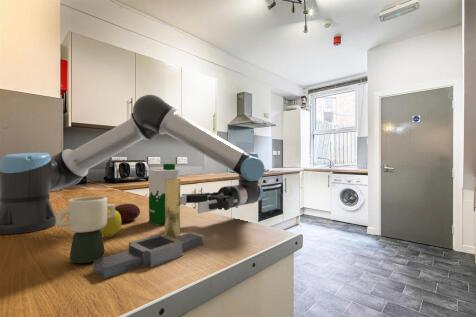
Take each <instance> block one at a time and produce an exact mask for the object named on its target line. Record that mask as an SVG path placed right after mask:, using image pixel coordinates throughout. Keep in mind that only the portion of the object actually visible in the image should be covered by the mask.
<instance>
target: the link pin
mask: <svg viewBox="0 0 476 317" xmlns="http://www.w3.org/2000/svg"><path fill="white" fill-rule="evenodd" d="M180 196H181V178H178V179H165V224H164V235H167V236H170V237H177V236H180V235H181V205H180Z"/></svg>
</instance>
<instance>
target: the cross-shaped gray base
mask: <svg viewBox="0 0 476 317" xmlns="http://www.w3.org/2000/svg"><path fill="white" fill-rule="evenodd" d="M200 246H203V236H201V235H198V234H195V233H191V232H187V233H184V234H180V236H177V237H170V236H167V235H165V234H163V235H162V234H160V233H159V234H155V235H152V236H147V237H144V238H141V239H137V240H133V241H129V242H128V250H126V251H122V252H119V253H115V254H111V255H109V256H105V257H101V258H99V259H97V260H94V261H92V262H93V266H92V268H93V272H94V273H95V274H96V275H97V276H98V277H100V278H102V279H103V280H107V279H110V278H112V277H115V276H118V275H121V274H123V273H126V272H129V271H132V270H134V269H135V270H136V269H138V268H141V267H143V268H145V267H148V268H154V267H157V266H159V265H162V264H165V263H167V262H170V261H172V260H175V259H178V258H181V257H183V252H186V251H188V250H191V249H194V248H197V247H200Z"/></svg>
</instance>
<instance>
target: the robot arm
mask: <svg viewBox="0 0 476 317" xmlns="http://www.w3.org/2000/svg"><path fill="white" fill-rule="evenodd" d="M165 134H166V135H167V136H170V137H171V138H173V139H175V140H177V141H178V142H180V143H182V144H184V145H185V146H188V147H190V148H191V149H193V150H195V151H196V152H199V153H200V154H202V155H204V156H205V157H207V158H208V159H211V160H213V161H215V162H216V163H218V164H219V165H220V166H223V167H225V168H226V169H228V170H230V171H232V172H234V173H236V174H237V175H238V184H235V185H228V186H222V187H220V188H219V189H218V191H215V192H214V191H213V192H202V193H182V194H181V195H180V206H181V205H183V206H186V205H187V204H195V203H196V204H197V214H204V213H207V212H213V211H216V210H224V211H228V210H230V209H233V208H237V209H238V208H239V207H240V206H245V205H249V204H250V205H251V204H255V203H257V202H259V201H261V200H262V199H263V196H264V190H263V189H264V188H263V187H262V186H261V184H259V180H260V179H262V178H263V176H264V174H265V172H266V171H265V170H266V168H265V164H264V162H263V161H262V160H261V159H260V158H259V154H258V153H257V152H256V153H255V152H246V151H244V150H243V149H241V148H239V147H238V146H236V145H234V144H232V143H230V142H228V141H227V140H225V139H223V138H222V137H219V136H218V135H217V134H214V133H213V132H210V130H208V129H206V128H204V127H202V126H201V125H199V124H197V123H195V122H193V121H192V120H190V119H189V118H186V117H185V116H183V115H181V114H179V113H178V112H177V109H176V108H175V107H173V106H171V105H170V104H169V103H167V102H166V101H165V100H164V99H162V98H161V97H159V96H157V95H154V94H145V95H142V96H141V97H139V98H138V99H137V100H136V101H135V103H134V104H133V106H132V113H131V114H130V117H129V119H127V120H126V121H123V123H121V124H118V125H117V126H115V127H112V129H110V130H108V131H106V132H104V133H102V134H101V135H99V136H97V137H95V138H93V139H92V140H89V141H88V142H86V143H84V144H82V145H81V146H79V147H76V148H74V149H71V148H66V149H64V150H62V151H60V152H58V153H57V154H55V155H53V156H51V155H50V153H47V152H25V153H22V152H21V153H19V152H18V153H10V154H6V155H3V156H2V157H1V159H0V235H13V234H14V235H15V234H21V233H22V234H24V233H30V232H37V231H40V230H44V229H48V228H51V227H53V226H56V214H55V211H54V209H53V207H52V206H53V205H52V203H51V201H50V196H51V195H50V194H51V193H50V192H51V190H52V191H53V190H58V189H67V188H70V187H73V186H75V185H77V184H78V183H80V182H81V181H82V179H83V178H84V177H85V176H87V175H88V174H89V170H90V169H92V168H93V167H95V166H97V165H99V164H101V163H102V162H104V161H106V160H108V159H110V158H113V157H114V156H115V155H117V154H119V153H120V152H122V151H124V150H126V149H127V148H130V147H131V146H133V145H135V144H137V143H138V142H140V141H142V140H145V141H150V140H153V139H154V138H156V137H158V136H160V135H165Z"/></svg>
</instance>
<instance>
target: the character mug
mask: <svg viewBox="0 0 476 317" xmlns="http://www.w3.org/2000/svg"><path fill="white" fill-rule="evenodd" d="M115 207H116V205H115V203H108V197H107V196H104V195H102V196H101V195H100V196H93V195H92V196H79V197H73V198H70V199H67V209H59V210H57V211H56V214H55V216H56V224H55V226H56V227H57V228H63V227H67V229H68V230H69V231H70V232H71V233H74V235H73V236H72V238H71V239H72V240H71V246H70V251H69V261H70V262H72V263H78V264H79V263H80V264H81V263H83V264H84V263H91V262H93V261H94V260H97V259H101V258H103V256H104V255H105V244H104V237H103V234H102V233H101V231H100V230H99V229H101V228H104V227H105V226H106V224H107V219H111V218H114V216H115ZM109 208H110V214H109V215H107V210H108V209H109ZM64 215H67V220H66V221H63V216H64Z"/></svg>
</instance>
